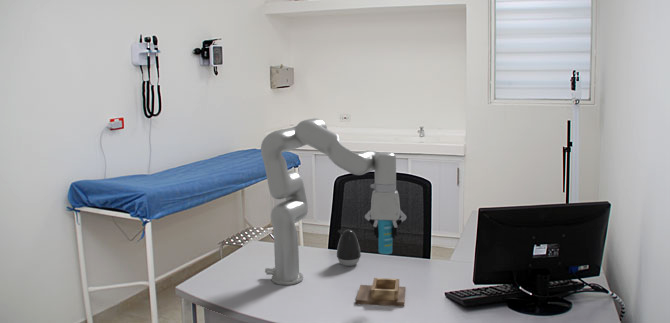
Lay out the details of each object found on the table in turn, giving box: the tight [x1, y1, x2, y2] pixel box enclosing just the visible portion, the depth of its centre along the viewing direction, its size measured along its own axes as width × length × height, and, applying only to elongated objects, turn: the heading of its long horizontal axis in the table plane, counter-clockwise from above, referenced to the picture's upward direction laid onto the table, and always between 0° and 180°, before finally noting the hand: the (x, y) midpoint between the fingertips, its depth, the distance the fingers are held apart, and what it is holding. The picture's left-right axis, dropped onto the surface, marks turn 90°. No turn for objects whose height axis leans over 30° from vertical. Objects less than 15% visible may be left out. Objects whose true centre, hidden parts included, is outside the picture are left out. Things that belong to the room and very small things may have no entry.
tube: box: [377, 220, 394, 255], centre depth 198 cm, size 7×5×19 cm, turn 123°
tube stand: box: [355, 277, 407, 307], centre depth 203 cm, size 17×14×5 cm
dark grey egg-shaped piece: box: [336, 229, 362, 267], centre depth 236 cm, size 10×10×15 cm
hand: (385, 236), depth 199 cm, fingers closed on tube, 5 cm apart
